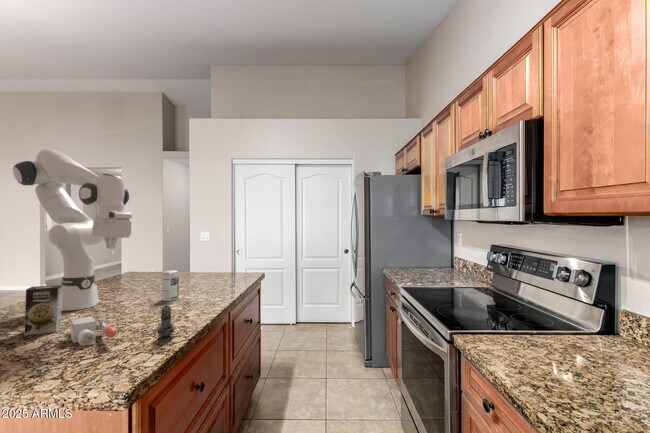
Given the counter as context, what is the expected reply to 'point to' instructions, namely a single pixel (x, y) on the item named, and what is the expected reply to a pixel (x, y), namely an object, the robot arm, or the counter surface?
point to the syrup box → (170, 285)
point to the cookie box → (43, 309)
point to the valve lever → (107, 329)
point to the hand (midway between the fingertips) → (110, 248)
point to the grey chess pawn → (165, 325)
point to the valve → (84, 330)
